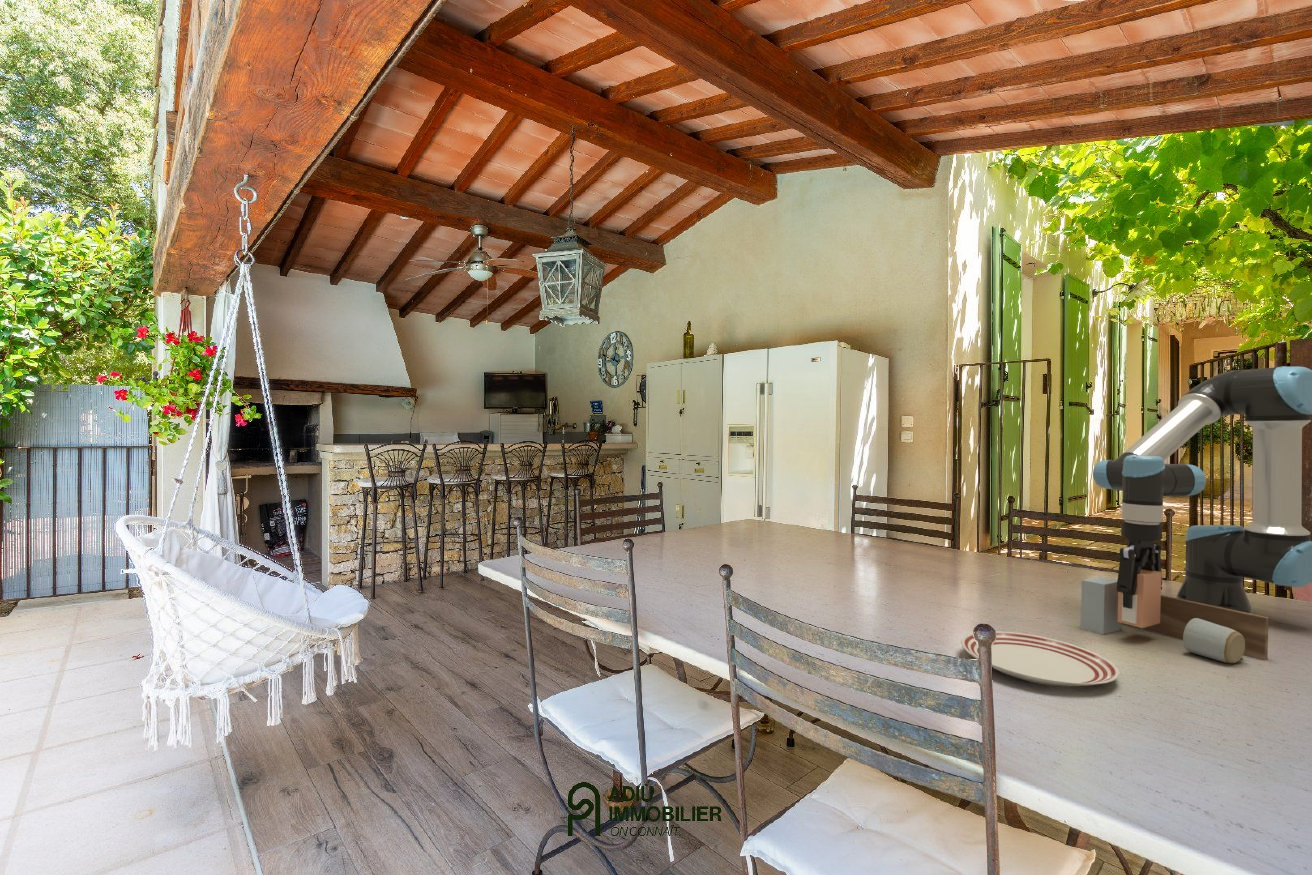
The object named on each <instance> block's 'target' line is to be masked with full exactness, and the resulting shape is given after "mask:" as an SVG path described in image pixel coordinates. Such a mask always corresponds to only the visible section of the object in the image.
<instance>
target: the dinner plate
mask: <svg viewBox="0 0 1312 875" xmlns="http://www.w3.org/2000/svg"><path fill="white" fill-rule="evenodd" d="M995 631H996V634H997V637H996V642H994V644H993V645H992V667H993V668H992V667H991V668H992V669H994V670H996V671H997V672H1000V673H1002V674H1004V675H1007V676H1010V677H1012V678H1016V679H1018V680H1022V681H1027V682H1030V683H1034V684H1038V685H1045V686H1053V687H1085V686H1086V687H1087V686H1088V687H1089V686H1095V685H1102V684H1104V685H1105V684H1108V683H1111V682H1114V681H1116V680H1117V679H1118V678H1119V677H1120V670H1119V668H1118V667H1117V666H1116V665H1115V664H1114V663H1113V662H1111V660H1109V659H1107V658H1105V657H1103V656H1101V655H1100V654H1098V653H1096V652H1093V651H1091V650H1089V649H1087V648H1083V647H1081V646H1078V645H1076V644H1073V643H1069V642H1065V641H1061V640H1059V639H1054V638H1049V637H1046V636H1040V635H1035V634H1031V633H1030V634H1029V633H1025V632H1024V633H1021V632H1012V631H1003V630H1002V631H1000V630H999V631H998V630H995ZM973 633H974V632H971V633H969V634H966V635H964V636H963V637H962V639H961V640H960V644H961V646H962V648H963V649H964V650H965V651H966V653H968V654H969V655H970V656H971V657H973V658H974V659H976V660H977V659H978V658H979V647H978V646H977V644H976V642H975V639H974V637H973Z"/></svg>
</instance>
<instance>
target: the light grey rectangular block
mask: <svg viewBox="0 0 1312 875" xmlns="http://www.w3.org/2000/svg"><path fill="white" fill-rule="evenodd" d="M1117 580H1118V579H1114V578H1108V577H1104V576H1100V575H1099V576H1095V577H1090V578H1085V579H1081V593H1080V594H1081V596H1080V597H1081V600H1080V629H1081V630H1084V631H1089V632H1092V633H1096V634H1100V635H1102V636H1104V635H1107V634H1110V633H1114V632H1117V631H1121V630H1122V624H1121V623H1120V622H1117V620H1118V591H1117Z"/></svg>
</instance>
